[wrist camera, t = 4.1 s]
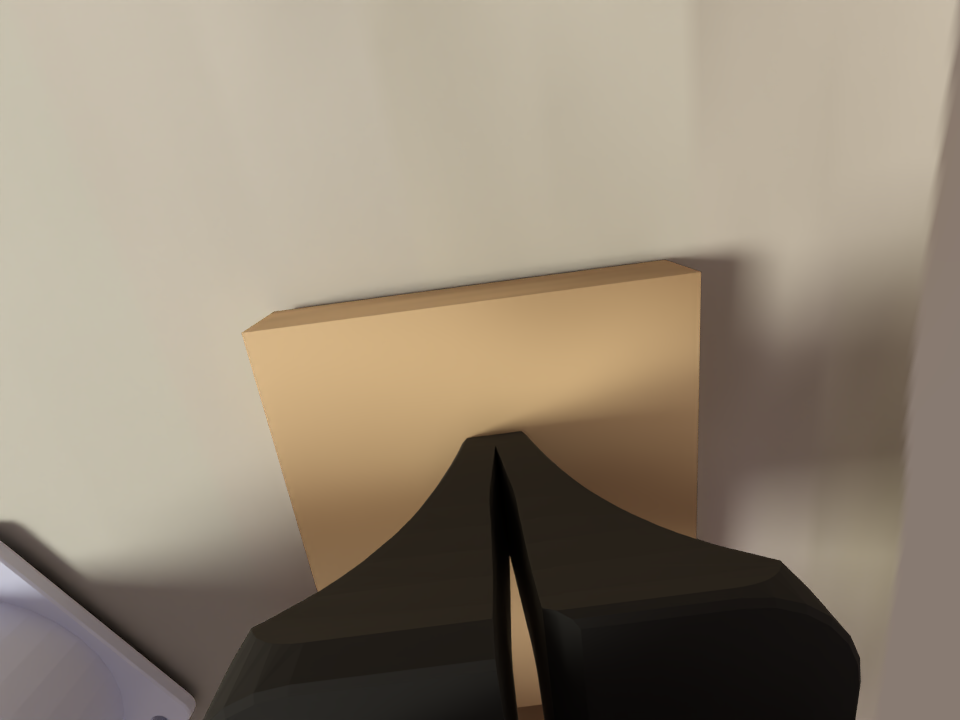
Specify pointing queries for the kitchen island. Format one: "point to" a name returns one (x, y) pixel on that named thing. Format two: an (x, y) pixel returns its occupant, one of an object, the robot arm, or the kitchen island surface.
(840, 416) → the kitchen island surface
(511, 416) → the oak plank
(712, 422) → the kitchen island surface
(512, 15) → the kitchen island surface
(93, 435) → the kitchen island surface
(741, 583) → the robot arm
